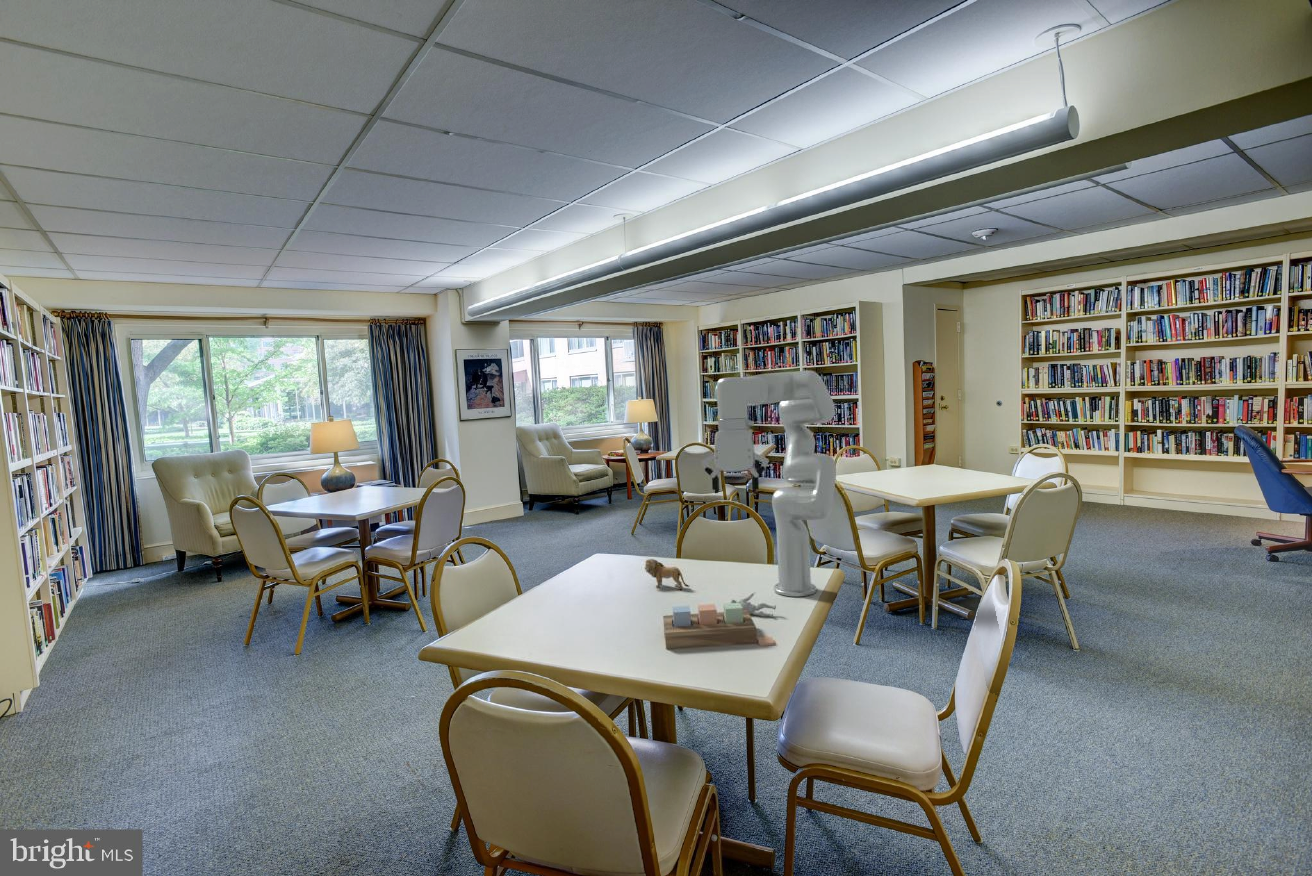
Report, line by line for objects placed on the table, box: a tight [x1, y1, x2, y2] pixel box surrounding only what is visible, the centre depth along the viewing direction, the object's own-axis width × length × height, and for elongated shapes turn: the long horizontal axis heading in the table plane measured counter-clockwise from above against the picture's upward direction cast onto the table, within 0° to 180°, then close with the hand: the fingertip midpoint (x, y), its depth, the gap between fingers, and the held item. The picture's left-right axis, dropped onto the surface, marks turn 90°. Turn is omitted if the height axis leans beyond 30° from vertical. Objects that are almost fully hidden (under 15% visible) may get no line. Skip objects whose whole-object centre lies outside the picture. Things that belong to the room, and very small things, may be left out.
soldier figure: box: [730, 592, 777, 618], centre depth 171 cm, size 8×5×12 cm
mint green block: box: [723, 602, 743, 624], centre depth 157 cm, size 4×4×6 cm
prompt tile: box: [756, 636, 776, 647], centre depth 151 cm, size 4×4×1 cm
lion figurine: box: [644, 558, 690, 590], centre depth 200 cm, size 15×5×9 cm, turn 70°
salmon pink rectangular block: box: [697, 603, 718, 625], centre depth 157 cm, size 4×4×6 cm
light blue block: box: [672, 605, 692, 627], centre depth 156 cm, size 4×4×6 cm
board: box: [662, 610, 758, 650], centre depth 157 cm, size 12×22×4 cm, turn 92°
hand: (735, 492), depth 160 cm, fingers open, 9 cm apart
